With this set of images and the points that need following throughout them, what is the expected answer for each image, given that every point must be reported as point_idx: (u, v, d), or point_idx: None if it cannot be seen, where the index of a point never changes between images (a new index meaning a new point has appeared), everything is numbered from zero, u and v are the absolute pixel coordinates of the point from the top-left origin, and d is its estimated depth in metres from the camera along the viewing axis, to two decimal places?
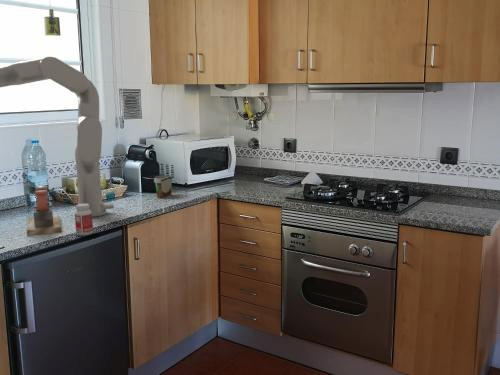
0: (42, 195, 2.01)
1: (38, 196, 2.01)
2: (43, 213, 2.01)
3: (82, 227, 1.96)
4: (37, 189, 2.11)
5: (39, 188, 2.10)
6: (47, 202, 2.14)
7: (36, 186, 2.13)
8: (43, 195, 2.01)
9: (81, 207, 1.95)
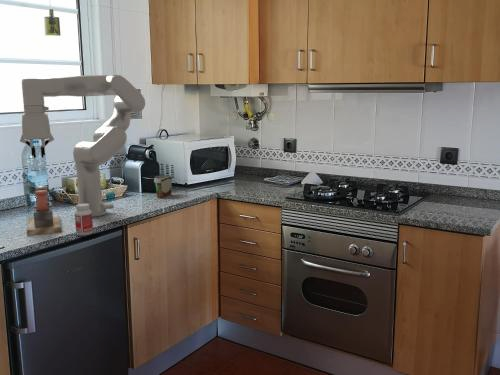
0: (42, 195, 2.01)
1: (38, 196, 2.01)
2: (43, 213, 2.01)
3: (82, 227, 1.96)
4: (37, 189, 2.11)
5: (39, 188, 2.10)
6: (47, 202, 2.14)
7: (36, 186, 2.13)
8: (43, 195, 2.01)
9: (81, 207, 1.95)
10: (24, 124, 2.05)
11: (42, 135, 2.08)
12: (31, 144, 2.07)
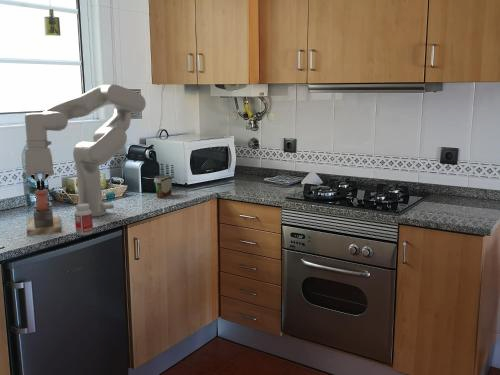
0: (42, 195, 2.01)
1: (38, 196, 2.01)
2: (43, 213, 2.01)
3: (82, 227, 1.96)
4: None
5: None
6: None
7: None
8: (43, 195, 2.01)
9: (81, 207, 1.95)
10: (27, 159, 2.07)
11: (45, 169, 2.10)
12: (36, 178, 2.10)
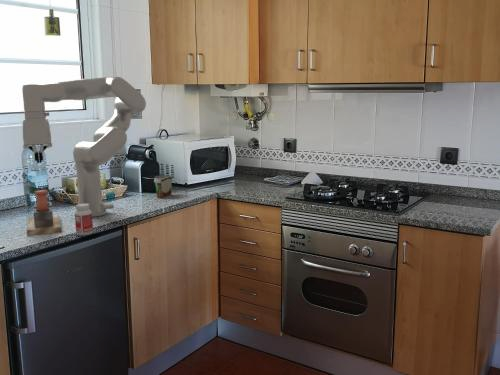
0: (42, 195, 2.01)
1: (38, 196, 2.01)
2: (43, 213, 2.01)
3: (82, 227, 1.96)
4: None
5: None
6: None
7: None
8: (43, 195, 2.01)
9: (81, 207, 1.95)
10: (25, 130, 2.05)
11: (43, 141, 2.08)
12: (34, 149, 2.08)
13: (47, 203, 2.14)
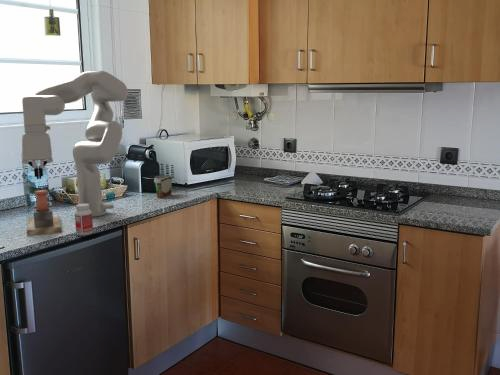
0: (42, 195, 2.01)
1: (38, 196, 2.01)
2: (43, 213, 2.01)
3: (82, 227, 1.96)
4: None
5: None
6: None
7: None
8: (43, 195, 2.01)
9: (81, 207, 1.95)
10: (24, 144, 1.96)
11: (43, 156, 1.98)
12: (34, 165, 1.99)
13: (47, 203, 2.14)
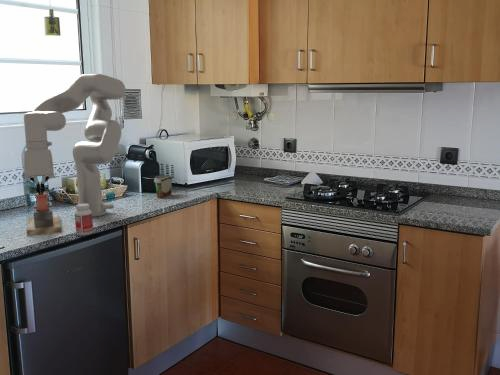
0: (42, 198, 2.01)
1: (38, 199, 2.01)
2: (43, 213, 2.01)
3: (82, 227, 1.96)
4: None
5: None
6: None
7: None
8: (43, 198, 2.02)
9: (81, 207, 1.95)
10: (26, 160, 1.97)
11: (45, 171, 2.00)
12: (36, 180, 2.00)
13: (47, 203, 2.14)
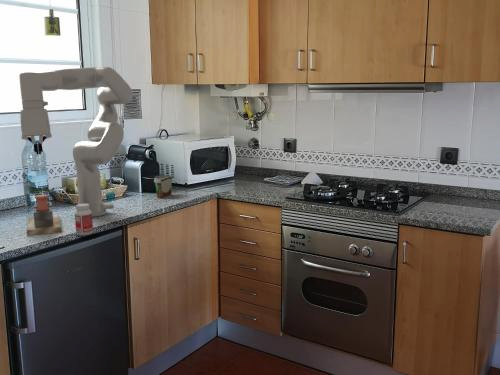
0: (42, 200, 2.01)
1: (38, 201, 2.01)
2: (43, 213, 2.01)
3: (82, 227, 1.96)
4: None
5: None
6: None
7: None
8: (43, 200, 2.02)
9: (81, 207, 1.95)
10: (23, 120, 1.98)
11: (42, 131, 2.01)
12: (33, 140, 2.01)
13: (47, 203, 2.14)
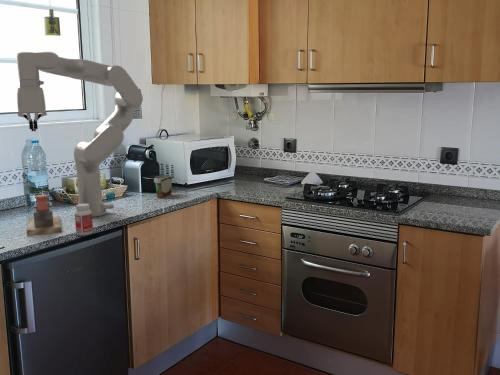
0: (42, 200, 2.01)
1: (38, 201, 2.01)
2: (43, 213, 2.01)
3: (82, 227, 1.96)
4: None
5: None
6: None
7: None
8: (43, 200, 2.02)
9: (81, 207, 1.95)
10: (19, 98, 2.07)
11: (37, 109, 2.10)
12: (29, 117, 2.10)
13: (47, 203, 2.14)
